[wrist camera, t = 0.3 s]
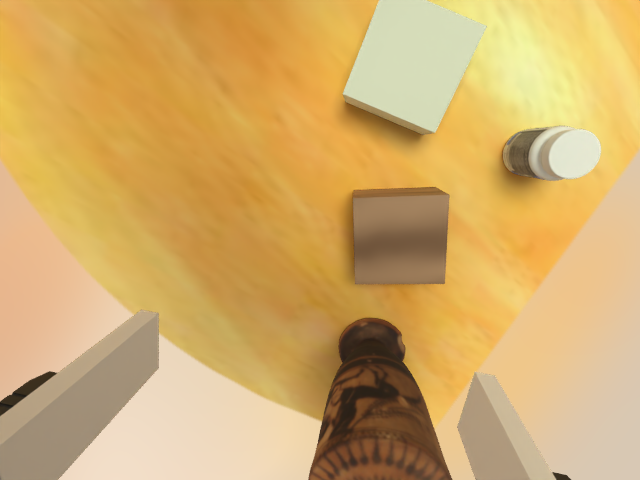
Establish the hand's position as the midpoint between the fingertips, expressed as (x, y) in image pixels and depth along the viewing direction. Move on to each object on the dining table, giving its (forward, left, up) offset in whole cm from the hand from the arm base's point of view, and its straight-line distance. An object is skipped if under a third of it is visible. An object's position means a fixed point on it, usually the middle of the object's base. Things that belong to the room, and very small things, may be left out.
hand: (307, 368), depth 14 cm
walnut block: (0, +6, -27) cm, 28 cm away
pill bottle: (-10, +18, -27) cm, 34 cm away
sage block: (-16, +4, -27) cm, 32 cm away
